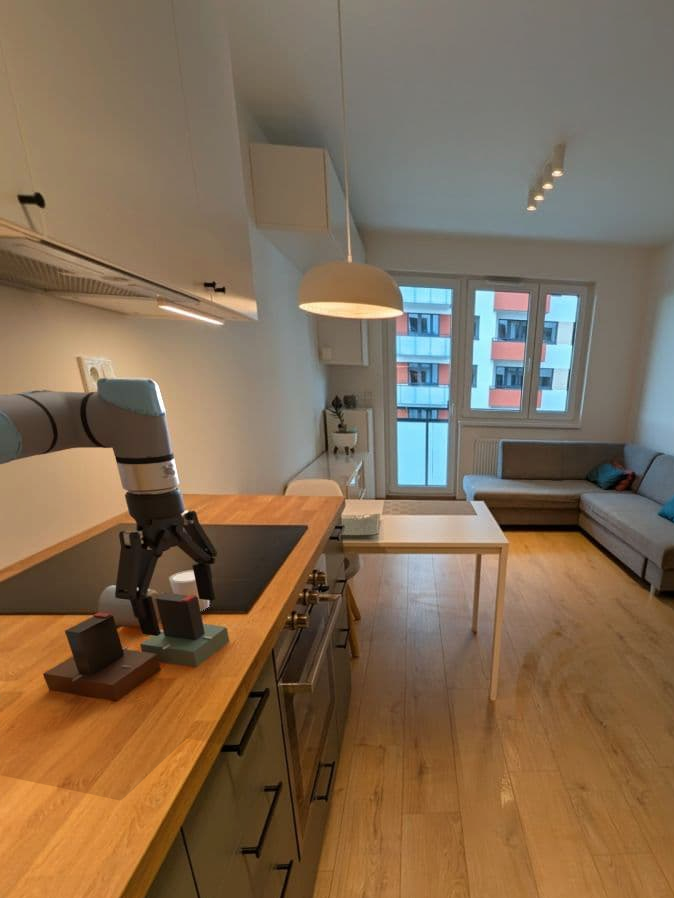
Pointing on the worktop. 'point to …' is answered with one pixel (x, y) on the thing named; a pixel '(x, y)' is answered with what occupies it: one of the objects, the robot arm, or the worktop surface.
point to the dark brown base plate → (104, 676)
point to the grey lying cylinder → (123, 607)
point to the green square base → (187, 646)
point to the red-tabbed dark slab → (94, 643)
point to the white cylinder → (187, 586)
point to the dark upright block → (180, 616)
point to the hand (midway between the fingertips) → (181, 615)
